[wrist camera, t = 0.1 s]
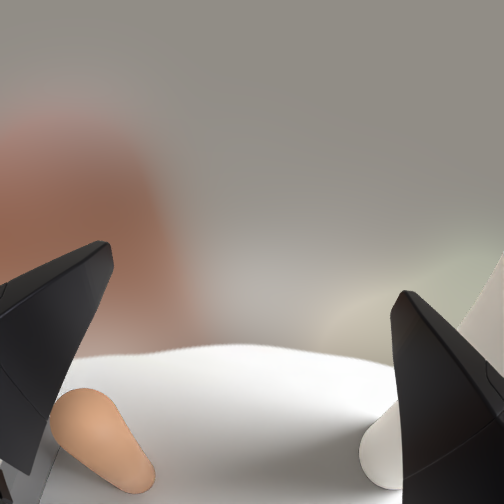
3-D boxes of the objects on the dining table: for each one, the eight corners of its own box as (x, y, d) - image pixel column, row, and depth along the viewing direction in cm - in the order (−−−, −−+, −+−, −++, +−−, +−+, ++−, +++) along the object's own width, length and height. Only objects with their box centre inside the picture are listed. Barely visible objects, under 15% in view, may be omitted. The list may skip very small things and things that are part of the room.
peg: (149, 500, 13) (106, 469, 8) (103, 483, 14) (39, 436, 8) (160, 460, 16) (130, 402, 11) (116, 446, 16) (67, 378, 11)
